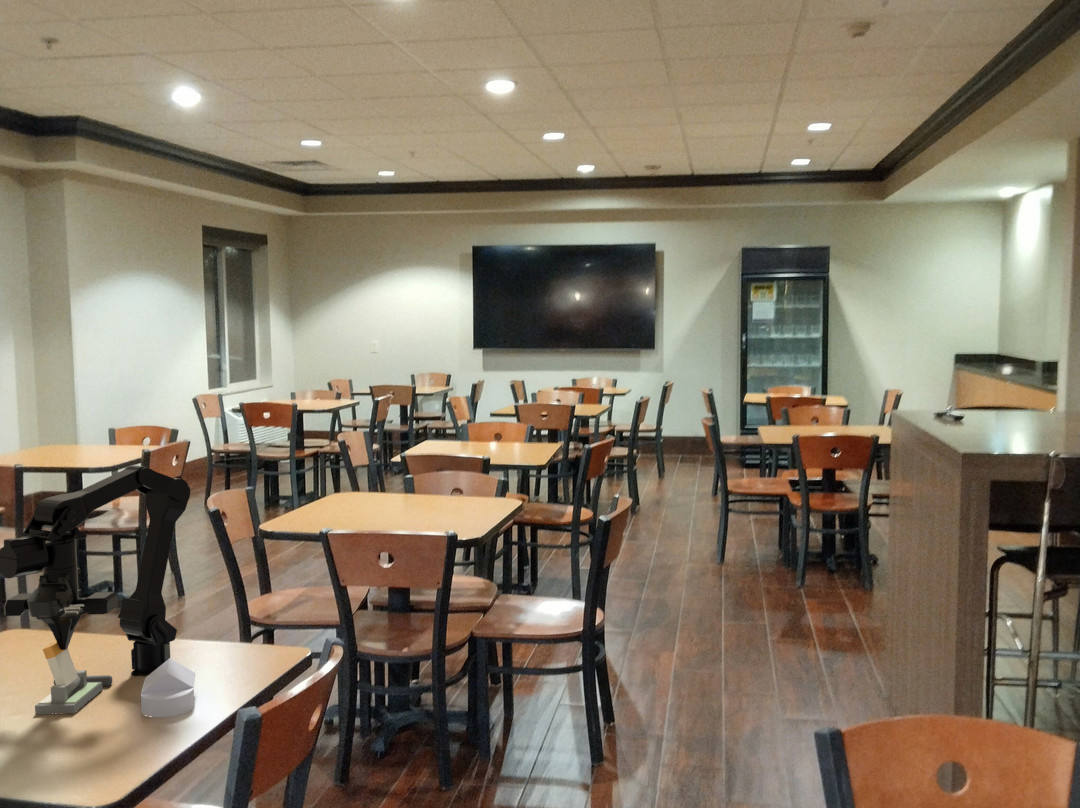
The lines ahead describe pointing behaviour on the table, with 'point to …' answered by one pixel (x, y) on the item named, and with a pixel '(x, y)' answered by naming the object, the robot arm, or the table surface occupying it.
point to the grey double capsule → (99, 679)
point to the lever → (62, 666)
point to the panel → (69, 697)
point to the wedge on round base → (168, 690)
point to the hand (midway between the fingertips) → (64, 649)
